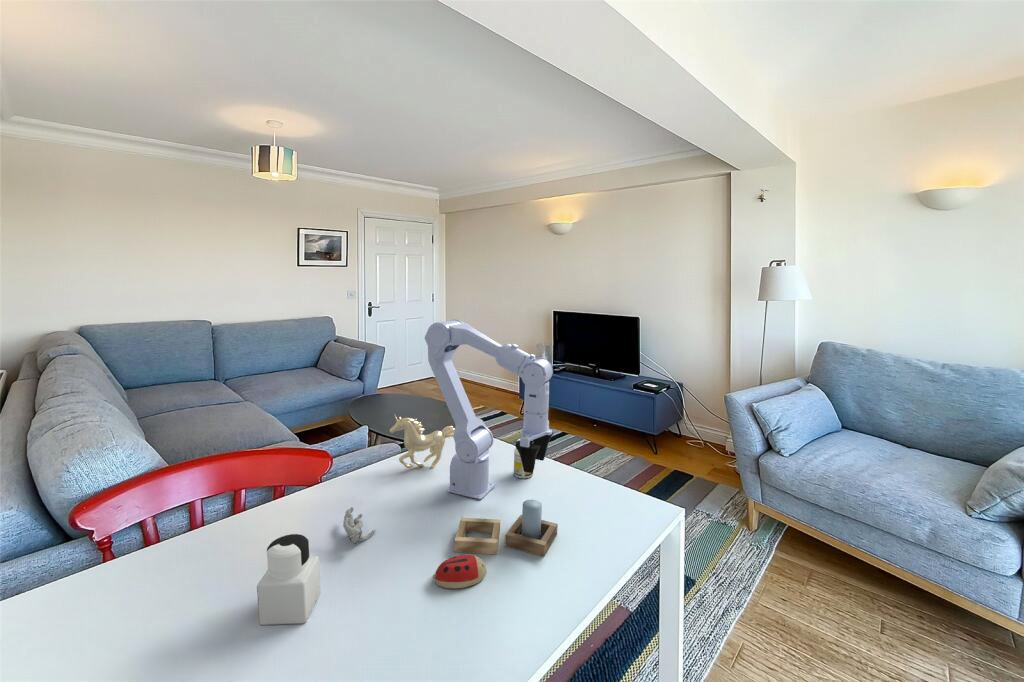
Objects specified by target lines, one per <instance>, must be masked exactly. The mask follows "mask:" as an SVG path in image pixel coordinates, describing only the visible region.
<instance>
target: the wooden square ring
mask: <svg viewBox="0 0 1024 682" xmlns="http://www.w3.org/2000/svg"><path fill="white" fill-rule="evenodd" d="M520 533H521V534H520ZM541 535H543V536H542V538H541V540H538V539H534V538H530V537H527V536H523V535H522V514H520V515H519V516H518V517H517V518H516V520H515V522H513V524H512V525H511V527H510V528H509V529H508V530H507V532H505V535H504V546H505V547H507V548H508V547H509V548H511V549H515V550H518V549H519V550H518V551H522V552H525V553H529V554H532V555H535V556H539V557H543V558H545V557H546V554H547V553H548V551H549V550H550V547H551V546H552V544H553V542H554V541H555V539H556V538H557V536H558V523H557V522H552V521H547V520H545V519H541Z"/></svg>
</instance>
